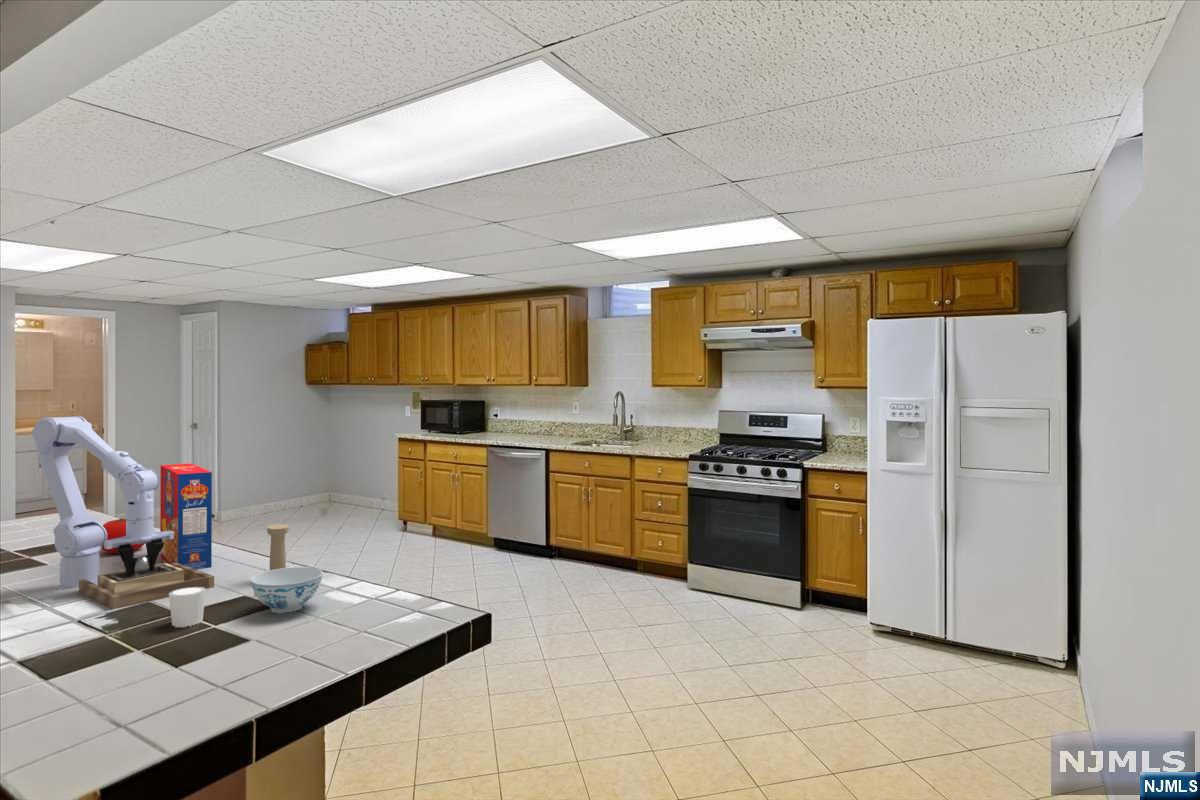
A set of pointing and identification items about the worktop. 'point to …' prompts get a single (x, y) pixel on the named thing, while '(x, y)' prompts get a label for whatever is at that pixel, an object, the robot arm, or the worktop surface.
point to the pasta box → (186, 515)
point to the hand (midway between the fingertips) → (140, 572)
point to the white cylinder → (187, 606)
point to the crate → (141, 579)
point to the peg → (141, 565)
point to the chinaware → (286, 587)
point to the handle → (277, 546)
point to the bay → (146, 595)
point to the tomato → (117, 533)
